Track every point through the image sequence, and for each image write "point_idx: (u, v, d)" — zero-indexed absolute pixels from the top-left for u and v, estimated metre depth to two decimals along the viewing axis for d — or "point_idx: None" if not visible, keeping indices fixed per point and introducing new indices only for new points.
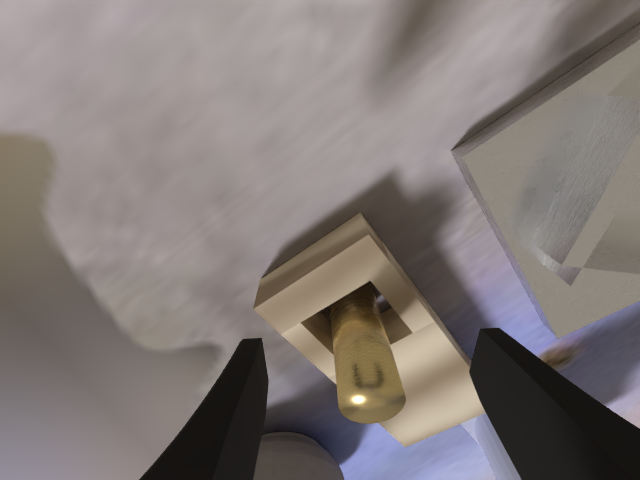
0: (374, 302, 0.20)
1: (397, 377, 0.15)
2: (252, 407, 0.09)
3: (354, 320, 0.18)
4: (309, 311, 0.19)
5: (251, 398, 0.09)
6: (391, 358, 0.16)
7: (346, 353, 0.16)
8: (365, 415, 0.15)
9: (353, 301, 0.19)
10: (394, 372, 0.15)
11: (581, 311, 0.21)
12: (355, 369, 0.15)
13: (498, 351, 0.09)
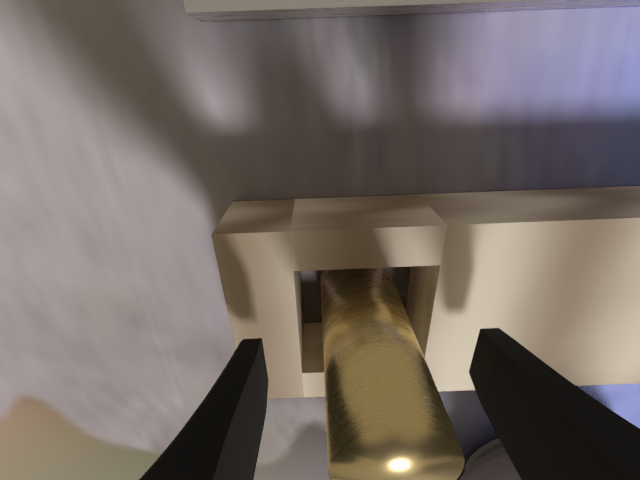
0: (356, 274, 0.12)
1: (392, 406, 0.07)
2: (252, 407, 0.09)
3: (326, 334, 0.11)
4: (292, 356, 0.13)
5: (251, 398, 0.09)
6: (380, 367, 0.08)
7: (326, 403, 0.09)
8: None
9: (325, 301, 0.12)
10: (384, 398, 0.07)
11: None
12: (327, 436, 0.08)
13: (498, 351, 0.09)
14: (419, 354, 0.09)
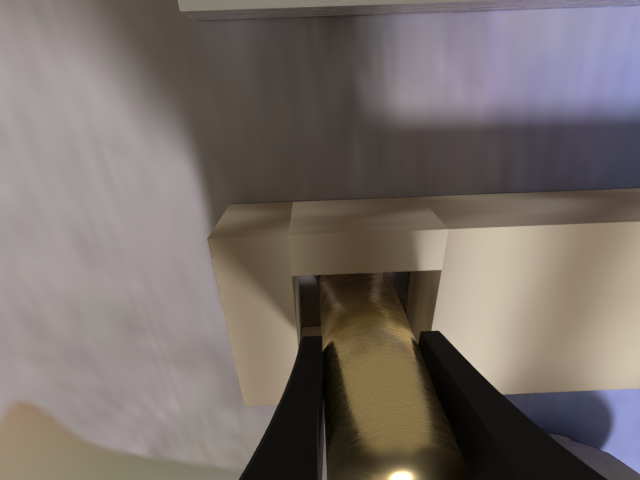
0: (356, 279, 0.12)
1: (393, 418, 0.07)
2: (322, 404, 0.09)
3: (324, 340, 0.10)
4: (290, 362, 0.12)
5: (321, 395, 0.09)
6: (381, 376, 0.08)
7: (325, 412, 0.09)
8: None
9: (324, 306, 0.12)
10: (385, 410, 0.07)
11: None
12: (326, 448, 0.08)
13: (431, 354, 0.09)
14: (420, 362, 0.09)
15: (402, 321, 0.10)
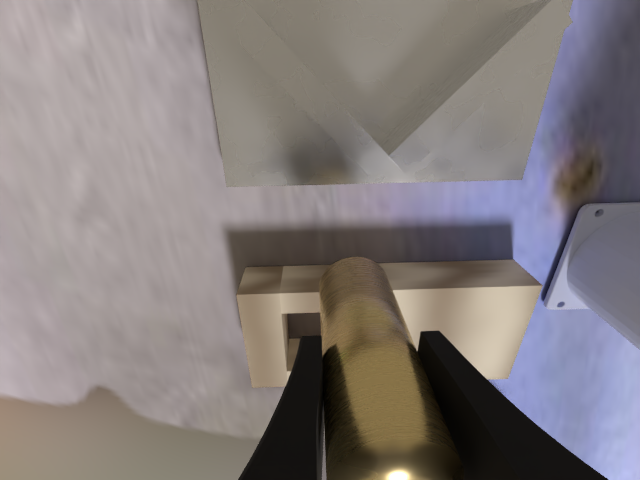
0: (356, 282, 0.12)
1: (393, 416, 0.07)
2: (321, 404, 0.09)
3: (324, 342, 0.11)
4: (280, 361, 0.21)
5: (321, 395, 0.09)
6: (381, 376, 0.08)
7: None
8: None
9: (324, 308, 0.12)
10: (384, 408, 0.07)
11: (504, 140, 0.16)
12: (326, 446, 0.08)
13: (432, 354, 0.09)
14: (419, 364, 0.09)
15: (401, 324, 0.10)
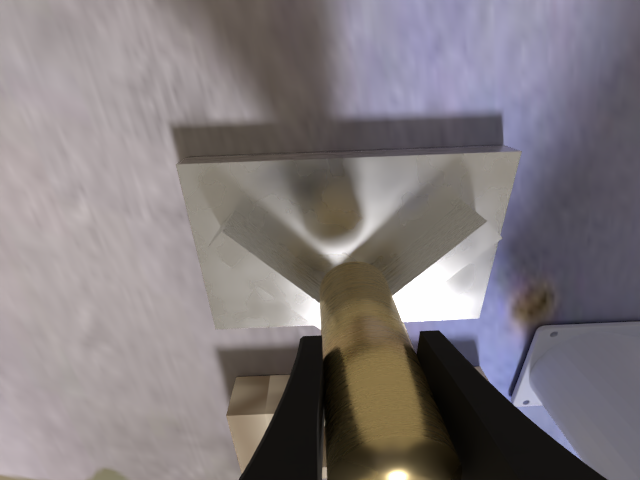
0: (357, 286, 0.12)
1: (395, 414, 0.07)
2: (321, 404, 0.09)
3: (325, 343, 0.11)
4: None
5: (321, 395, 0.09)
6: (382, 376, 0.08)
7: (324, 411, 0.09)
8: None
9: (325, 310, 0.12)
10: (386, 407, 0.07)
11: (460, 291, 0.18)
12: (327, 444, 0.08)
13: (431, 354, 0.09)
14: (419, 366, 0.09)
15: (401, 328, 0.11)
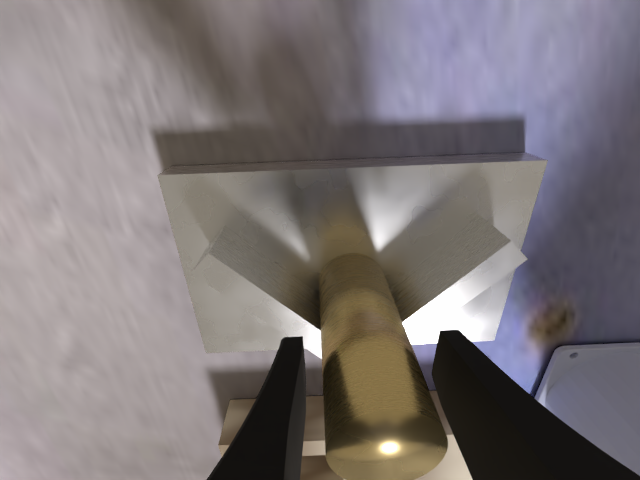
0: (355, 276, 0.13)
1: (387, 391, 0.08)
2: (299, 405, 0.09)
3: (324, 329, 0.11)
4: None
5: (299, 396, 0.09)
6: (376, 358, 0.09)
7: (323, 391, 0.10)
8: (404, 467, 0.09)
9: (324, 300, 0.13)
10: (379, 385, 0.08)
11: (474, 312, 0.17)
12: (325, 419, 0.09)
13: (453, 353, 0.09)
14: (411, 350, 0.10)
15: (395, 315, 0.11)
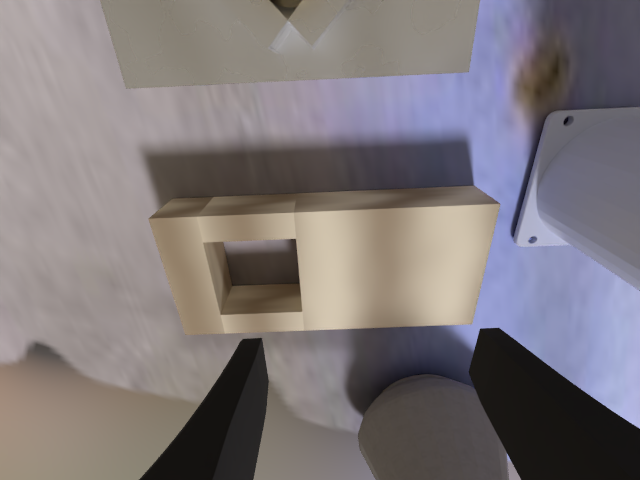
0: None
1: None
2: (252, 407, 0.09)
3: None
4: (211, 302, 0.19)
5: (251, 398, 0.09)
6: None
7: None
8: None
9: None
10: None
11: (442, 19, 0.14)
12: None
13: (498, 351, 0.09)
14: None
15: None
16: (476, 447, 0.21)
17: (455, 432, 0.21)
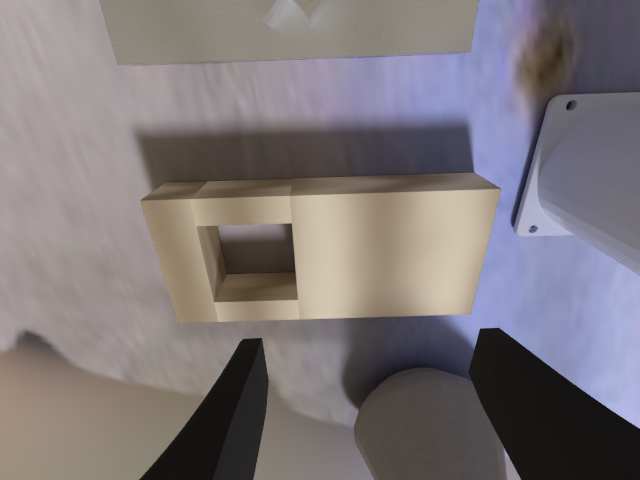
0: None
1: None
2: (252, 407, 0.09)
3: None
4: (205, 289, 0.18)
5: (251, 398, 0.09)
6: None
7: None
8: None
9: None
10: None
11: None
12: None
13: (498, 351, 0.09)
14: None
15: None
16: (473, 440, 0.20)
17: (452, 424, 0.21)
